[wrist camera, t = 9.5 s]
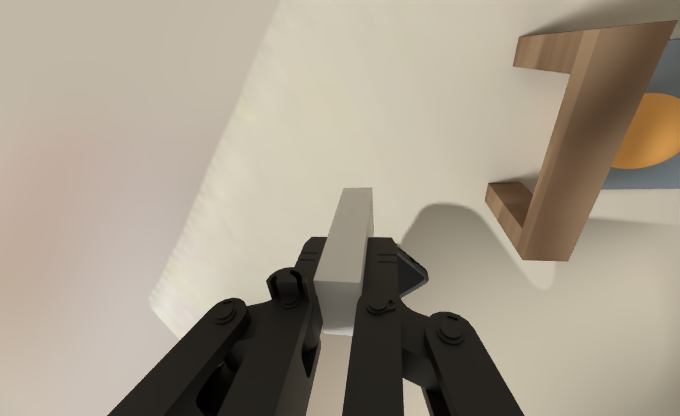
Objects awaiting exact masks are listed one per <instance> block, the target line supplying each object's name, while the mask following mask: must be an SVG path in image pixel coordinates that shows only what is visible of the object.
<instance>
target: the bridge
mask: <svg viewBox="0 0 680 416" xmlns="http://www.w3.org/2000/svg"><path fill="white" fill-rule="evenodd" d="M677 21H678V20H675V21H665V22H656V23H646V24H637V25H627V26H618V27H608V28H598V29H589V30H579V31H570V32H560V33H551V34H543V35H534V36H525V37H519V40H518V44H517V49H516V54H515V59H514V64H513V66H514V67H522V68H529V69H537V70H545V71H553V72H560V73H568V74H571V75H570V79H569V82H568V85H567V88H566V91H565V95H564V98H563V101H562V104H561V107H560V111H559V114H558V117H557V120H556V123H555V127H554V130H553V133H552V136H551V139H550V143H549V146H548V149H547V152H546V155H545V159H544V162H543V165H542V168H541V171H540V175H539V178H538V181H537V184H536V187H535V191H534V194H532V193H531V192H530V191H529V190H528V189H527V188H526V187H525V186H524V185H523V184H522V183H488V188H487V193H486V197H485V202H486V203H487V205H488V206H489V208H490V210H491V211H492V213H493V214H494V216H495V217H496V219H497V221H498V222H499V224H500V225H501V227H502V228H503V230H504V232H505V233H506V235H507V236H508V238H509V239H510V241H511V243H512V244H513V246H514V247H515V249H516V250H517V252H518V254H519V255H520V257H521V258H522V260H538V261H568V260H569V258H570V256H571V254H572V252H573V250H574V247H575V245H576V243H577V241H578V239H579V236H580V234H581V232H582V229H583V227H584V225H585V223H586V221H587V219H588V217H589V214H590V212H591V210H592V208H593V206H594V203H595V201H596V199H597V197H598V195H599V192H600V190H601V188H602V186H603V184H604V181H605V179H606V177H607V175H608V172H609V170H610V168H611V166H612V164H613V161H614V159H615V157H616V155H617V153H618V150H619V148H620V146H621V144H622V142H623V139H624V137H625V135H626V133H627V131H628V128H629V126H630V124H631V122H632V120H633V117H634V115H635V113H636V111H637V109H638V106H639V104H640V102H641V100H642V98H643V95H644V93H645V91H646V89H647V87H648V84H649V82H650V80H651V78H652V76H653V73H654V71H655V69H656V67H657V65H658V62H659V60H660V58H661V56H662V54H663V51H664V49H665V47H666V45H667V43H668V40H669V38H670V36H671V34H672V32H673V29H674V27H675V25H676V23H677Z"/></svg>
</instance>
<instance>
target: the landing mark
mask: <svg viewBox="0 0 680 416" xmlns="http://www.w3.org/2000/svg"><path fill="white" fill-rule="evenodd" d="M645 93H660V94H667V95H671V96H674V97H676V98H679V99H680V39H677V40H668V43H667V45H666V47H665V49H664V51H663V54H662V56H661V58H660V60H659V62H658V65H657V67H656V69H655V71H654V73H653V76H652V78H651V80H650V82H649V84H648V87H647V89H646V91H645ZM601 189H680V152H678V153H677V154H676V155H674V156H673V157H671V158H669V159H667V160H666V161H663V162H661V163H658V164H656V165H652V166H649V167H644V168H637V169H621V168H615V167H611V168H610V170H609V172H608V175H607V177H606V179H605V181H604V184H603V186H602V188H601Z"/></svg>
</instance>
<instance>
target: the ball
mask: <svg viewBox="0 0 680 416" xmlns="http://www.w3.org/2000/svg"><path fill="white" fill-rule="evenodd" d="M678 152H680V99H679V98H676V97H674V96H671V95H667V94H660V93H644V95H643V98H642V100H641V102H640V104H639V106H638V109H637V111H636V113H635V115H634V117H633V120H632V122H631V124H630V126H629V128H628V131H627V133H626V135H625V137H624V139H623V142H622V144H621V146H620V148H619V150H618V153H617V155H616V157H615V159H614V161H613V164H612V166H611V167H615V168H621V169H637V168H644V167H649V166H652V165H656V164H658V163H661V162H663V161H666V160H667V159H669V158H671V157H673V156H674V155H676V154H677V153H678Z"/></svg>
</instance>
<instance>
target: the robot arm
mask: <svg viewBox="0 0 680 416" xmlns="http://www.w3.org/2000/svg"><path fill="white" fill-rule="evenodd" d="M373 233H374V225H373V199H372V188H344V189H343V192H342V195H341V198H340V201H339V204H338V207H337V210H336V213H335V216H334V219H333V222H332V225H331V228H330V231H329V234H328V237H311V238H310V239H309V240H308V241H307V242H306V243H305V244H304V246H303V249H302V251H301V254H300V255H299V258H298V261H297V262H296V265H295V267H289V268H283V269H280V270H278V271H276V272H274V273H273V274H272V275H270V277H269V278H268V279H267V280H266V283H267V286H268V289H269V292H270V295H271V297H272V300H270V301H267V302H264V303H260V304H255V305H250V306H246V304H245V302H244V301H243V300H241V299H239V298H230V299H225V300H223V301H221V302H219V303H217V304H216V305H215V306H213V307H212V308H211V309H210V310H209V311H208V312H207V313H206V314H205V315H204V316H203V317H202V318H201V319H200V320H199V321H198V322H197V323H196V324H195V325H194V327H193V328H192V329H191V330H190V331H189V332H188V333H187V334H186V335H185V336H184V337H183V338H182V339H181V340H180V341H179V342H178V343H177V344H176V345H175V346H174V347H173V348H172V349H171V350H170V351H169V352H168V353H167V354H166V355H165V356H164V358H163V359H162V360H161V361H160V362H159V363H158V364H157V365H156V366H155V367H154V368H153V369H152V370H151V371H150V372H149V373H148V374H147V375H146V376H145V377H144V379H142V380H141V382H139V383H138V384H137V385H136V386H135V388H134V389H133V390H132V391H131V392H130V393H129V394H128V395H127V396H126V397H125V398H124V399H123V400H122V401H121V402H120V403H119V404H118V405H117V406H116V407H115V408H114V409H113V410H112V411H111V412H110V414H109V415H107V416H306V411H307V407H308V402H309V398H310V394H311V389H312V385H313V381H314V376H315V372H316V367H317V363H318V358H319V354H320V349H321V341H320V333H321V329H322V325H323V330H324V333H326V334H327V333H328V334H337V335H348V336H352V344H351V352H350V360H349V367H348V375H347V382H346V390H345V397H344V405H343V413H342V416H404V405H403V379H402V378H405V379H406V380H409V381H410V382H413V383H415V384H417V385H419V386H421V388H422V392H423V395H424V398H425V401H426V404H427V408H428V411H429V414H430V416H524V414H523V412H522V411H521V409H520V407H519V406H518V404H517V402H516V400H515V399H514V397H513V395H512V393H511V392H510V390H509V388H508V387H507V385H506V383H505V381H504V380H503V378H502V376H501V375H500V373H499V371H498V369H497V368H496V366H495V364H494V362H493V361H492V359H491V357H490V355H489V354H488V352H487V350H486V349H485V347H484V345H483V343H482V342H481V340H480V338H479V337H478V335H477V333H476V331H475V330H474V328H473V327H472V326H471V325H470V323H469V322H468V321H467V320H465V319H464V318H462V317H461V316H460V315H457V314H454V313H451V312H438V313H434V314H432V315H431V316H430V317H428V316H425V315H422V314H419V313H417V312H414V311H412V310H411V309H409V308H408V307H407V306H406V305H405V304H404V303H403V302H402V300H401V299H400V297H399V292H398V266H397V245H396V244H395V242H394V241H393V239H392V238H385V237H373Z"/></svg>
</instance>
